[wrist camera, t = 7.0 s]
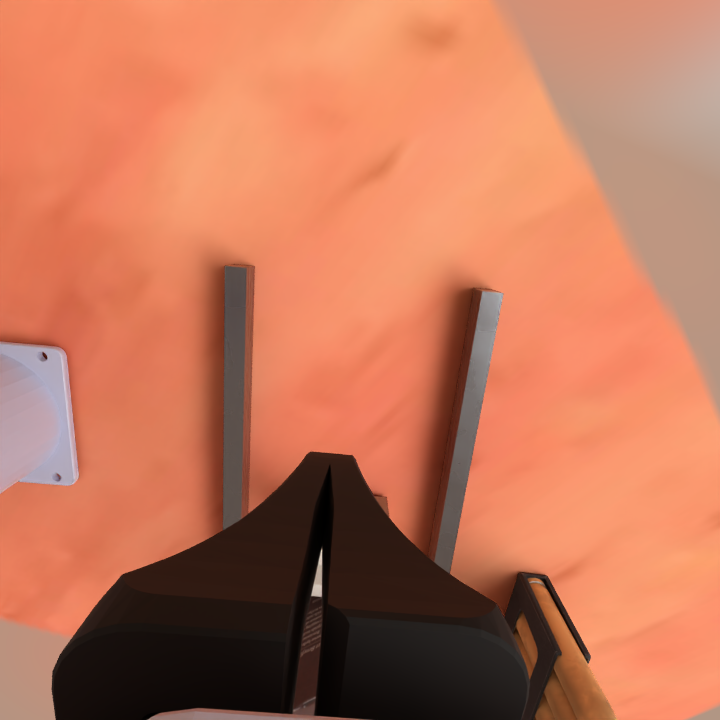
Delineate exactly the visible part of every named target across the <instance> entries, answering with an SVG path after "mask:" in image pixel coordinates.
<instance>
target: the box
mask: <svg viewBox="0 0 720 720" xmlns="http://www.w3.org/2000/svg"><path fill="white" fill-rule="evenodd" d="M321 625H322V597H318V596H311V599H310V604H309V608H308V613H307V617H306V622H305V628H304V633H303V639H302V647H301V654H300V662H299V670H298V677H297V685H296V693H295V701H294V709H293V715H308V716H314V709H315V698H316V687H317V677H318V666H319V655H320V644H321Z"/></svg>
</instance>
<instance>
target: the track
mask: <svg viewBox="0 0 720 720" xmlns="http://www.w3.org/2000/svg"><path fill="white" fill-rule="evenodd" d="M254 271H255V266H246V265H236V264H233V265H227V266H225V311H224V455H223V530H224V529H226V528H228V527H229V526H231V525H233V524H234V523H236V522H238V521H239V520H241V519H242V518H243V517H245V516H246V515H247V514H248V499H249V461H250V423H251V385H252V347H253V309H254ZM502 298H503V293H501V292H498V291H495V290H490V289H479V288H474V289H473V294H472V300H471V306H470V312H469V318H468V324H467V330H466V335H465V341H464V347H463V353H462V359H461V365H460V370H459V376H458V382H457V388H456V394H455V400H454V405H453V411H452V417H451V423H450V429H449V435H448V440H447V446H446V452H445V458H444V464H443V470H442V475H441V481H440V487H439V493H438V499H437V505H436V510H435V516H434V522H433V528H432V534H431V540H430V546H429V551H428V558H430V559H431V560H432V561H433V562H435V563H436V564H437V565H438V566H440V567H441V568H442V569H444V570H445V571H446V572H448V573H449V574H450V569H451V564H452V559H453V554H454V549H455V543H456V538H457V533H458V528H459V522H460V517H461V512H462V507H463V502H464V496H465V491H466V486H467V481H468V475H469V470H470V465H471V460H472V455H473V449H474V444H475V439H476V434H477V429H478V423H479V418H480V413H481V408H482V402H483V397H484V392H485V387H486V382H487V376H488V371H489V366H490V361H491V355H492V350H493V345H494V340H495V335H496V329H497V324H498V319H499V314H500V308H501V303H502Z"/></svg>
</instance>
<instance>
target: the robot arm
mask: <svg viewBox="0 0 720 720" xmlns="http://www.w3.org/2000/svg"><path fill="white" fill-rule="evenodd" d="M43 352H44V353H45V354H46V355H47V359H45V358H44V357H43ZM57 474H59V475H60V476H61V477H59V476H58V475H57ZM78 479H79V472H78V462H77V452H76V442H75V433H74V423H73V413H72V403H71V393H70V383H69V374H68V364H67V356H66V353H65V351H64V350H63V349H61V348H60V347H56V346H46V345H35V344H24V343H13V342H2V341H0V493H2V492H3V491H5V490H6V489H8V488H9V487H11V486H12V485H13V484H15V483H16V482H28V483H41V484H53V485H66V486H68V485H72V484H74V483H75V482H76V481H77V480H78ZM321 549H322V625H321V644H320V655H319V666H318V677H317V687H316V698H315V709H314V716H308V715H293V709H294V701H295V693H296V685H297V677H298V670H299V662H300V654H301V647H302V639H303V633H304V628H305V622H306V617H307V613H308V608H309V604H310V599H311V595H312V590H313V585H314V581H315V576H316V572H317V567H318V563H319V558H320V553H321ZM529 688H530V679H529V674H528V670H527V666H526V663H525V661H524V658H523V656H522V654H521V651H520V649H519V646H518V644H517V642H516V640H515V637H514V635H513V633H512V631H511V629H510V627H509V625H508V624H507V622H506V620H505V618H504V616H503V615H502V613H501V611H500V609H499V607H498V605H497V604H496V603H495V602H493V601H492V600H490V599H488V598H487V597H485V596H483V595H482V594H480V593H478V592H477V591H475V590H473V589H472V588H470V587H469V586H467V585H465V584H464V583H462V582H460V581H459V580H457V579H456V578H455V577H453V576H452V575H451V574H449V573H448V572H446V571H445V570H444V569H442V568H441V567H440V566H438V565H437V564H436V563H435V562H433V561H432V560H431V559H430V558H428V557H427V556H426V555H425V554H424V553H423V552H422V551H420V550H419V549H418V548H417V547H416V546H415V545H414V544H413V543H412V542H411V541H410V540H409V539H408V538H407V537H406V536H405V535H404V534H403V533H402V532H401V531H400V530H399V529H398V528H397V527H396V526H395V524H394V523H393V522H392V521H391V519H390V518H389V517H388V515H387V514H386V513H385V511H384V510H383V509H382V507H381V506H380V504H379V503H378V501H377V500H376V498H375V497H374V495H373V493H372V492H371V490H370V488H369V487H368V485H367V483H366V481H365V479H364V477H363V475H362V474H361V471H360V469H359V467H358V464H357V462H356V459H355V458H354V457H353V455H343V454H332V453H321V452H309V453H308V454H307V455H306V456H305V458H304V459H303V460H302V462H301V463H300V464H299V466H298V467H297V468H296V469H295V470H294V472H293V473H292V474H291V475H290V476H289V477H288V478H287V479H286V480H285V481H284V482H283V484H282V485H281V486H280V487H279V488H278V489H277V490H275V491H274V492H273V493H272V494H271V495H270V496H269V497H268V498H267V499H266V500H265V501H263V502H262V503H261V504H260V505H259V506H258V507H256V508H255V509H254V510H253V511H251V512H250V513H249V514H247V515H246V516H245V517H243V518H242V519H241V520H239V521H238V522H236V523H234V524H233V525H231V526H229V527H228V528H226V529H224V530H223V531H221V532H219V533H218V534H216V535H214V536H213V537H211V538H209V539H207V540H205V541H203V542H201V543H199V544H197V545H195V546H193V547H191V548H189V549H187V550H185V551H182V552H180V553H178V554H176V555H173V556H171V557H169V558H166V559H164V560H161V561H158V562H155V563H153V564H150V565H147V566H145V567H142V568H139V569H137V570H134V571H131V572H128V573H125V574H122V575H121V577H120V578H119V579H118V580H117V582H116V583H115V584H114V585H113V586H112V587H111V588H110V589H109V590H108V592H107V593H106V594H105V595H104V596H103V597H102V599H101V600H100V601H99V602H98V604H97V605H96V606H95V607H94V609H93V610H92V611H91V613H90V614H89V615H88V617H87V618H86V619H85V621H84V622H83V624H82V625H81V626H80V628H79V629H78V630H77V632H76V633H75V635H74V636H73V637H72V639H71V640H70V642H69V643H68V644H67V646H66V647H65V648H64V650H63V651H62V653H61V654H60V656H59V658H58V660H57V663H56V665H55V667H54V670H53V675H52V695H53V702H54V710H55V718H56V720H522V718H523V714H524V711H525V708H526V704H527V701H528V696H529Z"/></svg>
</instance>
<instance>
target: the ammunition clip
mask: <svg viewBox="0 0 720 720" xmlns="http://www.w3.org/2000/svg"><path fill="white" fill-rule="evenodd" d="M504 618H505V620H506V622H507V624H508V625H509V627H510V629H511V631H512V633H513V635H514V637H515V640H516V642H517V644H518V646H519V649H520V651H521V654H522V656H523V658H524V661H525V663H526V666H527V670H528V674H529V679H530V688H529V696H528V701H527V704H526V708H525V711H524V714H523V718H522V720H617V718H616V715H615V713H614V711H613V709H612V708H611V706H610V704H609V702H608V700H607V698H606V697H605V695H604V693H603V691H602V689H601V687H600V685H599V684H598V682H597V680H596V678H595V676H594V674H593V673H592V671H591V669H590V667H589V665H588V663H589V661H590V658H591V656H590V654H589V652H588V650H587V648H586V647H585V645H584V643H583V641H582V639H581V637H580V635H579V634H578V632H577V630H576V628H575V626H574V624H573V622H572V621H571V619H570V617H569V615H568V613H567V611H566V609H565V608H564V606H563V604H562V602H561V600H560V598H559V596H558V595H557V593H556V591H555V589H554V587H553V585H552V583H551V582H550V580H549V578H548V576H543V575H535V574H528V573H520V574H518V576H517V579H516V583H515V586H514V589H513V592H512V595H511V598H510V601H509V604H508V608H507V611H506V614H505V617H504Z"/></svg>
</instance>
